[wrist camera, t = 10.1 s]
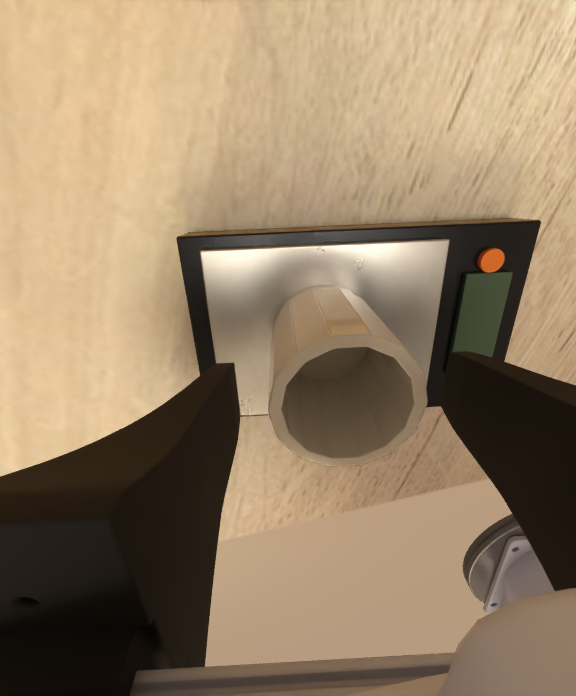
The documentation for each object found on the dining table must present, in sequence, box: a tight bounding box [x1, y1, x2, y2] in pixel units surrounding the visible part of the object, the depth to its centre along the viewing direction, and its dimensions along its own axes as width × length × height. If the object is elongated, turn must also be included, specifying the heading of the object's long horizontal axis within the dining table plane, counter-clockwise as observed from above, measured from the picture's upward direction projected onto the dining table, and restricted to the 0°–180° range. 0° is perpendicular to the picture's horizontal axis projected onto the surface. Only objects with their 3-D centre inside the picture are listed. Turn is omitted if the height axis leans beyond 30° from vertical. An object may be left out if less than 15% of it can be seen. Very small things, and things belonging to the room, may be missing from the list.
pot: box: [268, 285, 428, 467], centre depth 12 cm, size 5×5×6 cm
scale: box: [177, 218, 541, 417], centre depth 16 cm, size 9×15×3 cm, turn 92°
